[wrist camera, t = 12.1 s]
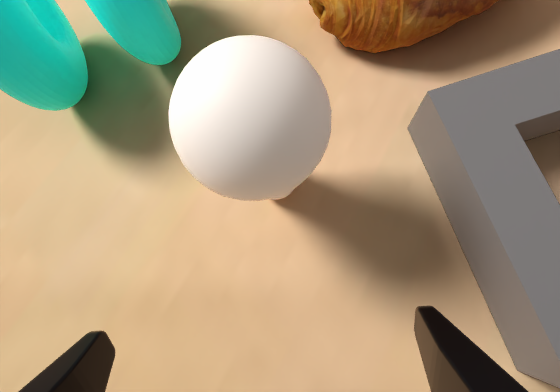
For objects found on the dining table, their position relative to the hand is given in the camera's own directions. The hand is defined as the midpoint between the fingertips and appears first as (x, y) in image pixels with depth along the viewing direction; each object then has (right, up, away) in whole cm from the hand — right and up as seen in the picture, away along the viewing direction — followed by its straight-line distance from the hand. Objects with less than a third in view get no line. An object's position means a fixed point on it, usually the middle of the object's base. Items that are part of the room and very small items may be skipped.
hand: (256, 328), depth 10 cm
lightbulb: (+1, +5, +11) cm, 12 cm away
